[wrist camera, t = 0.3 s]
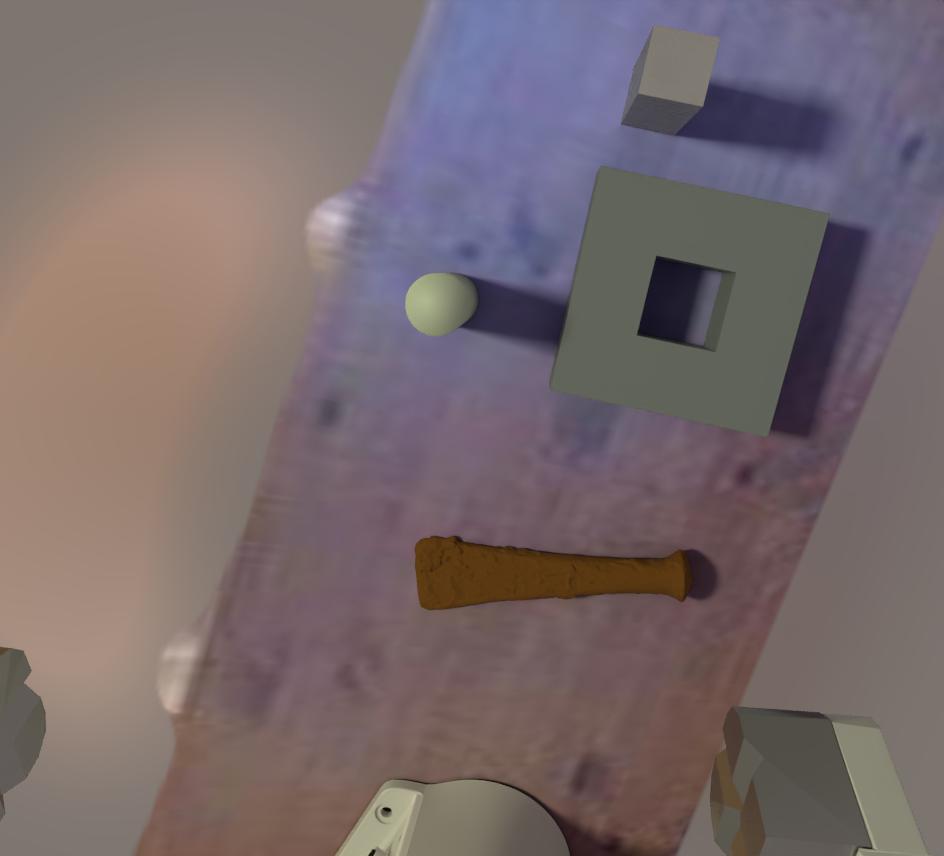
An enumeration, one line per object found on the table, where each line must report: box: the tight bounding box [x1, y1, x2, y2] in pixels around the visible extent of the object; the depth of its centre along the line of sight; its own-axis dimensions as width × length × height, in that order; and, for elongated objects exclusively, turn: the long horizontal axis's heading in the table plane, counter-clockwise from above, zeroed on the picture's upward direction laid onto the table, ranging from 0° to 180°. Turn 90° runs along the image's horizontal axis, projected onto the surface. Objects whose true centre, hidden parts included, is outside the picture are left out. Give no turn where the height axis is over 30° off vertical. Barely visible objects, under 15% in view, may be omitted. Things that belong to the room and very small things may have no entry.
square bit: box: [621, 25, 720, 135], centre depth 51 cm, size 4×4×10 cm
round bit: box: [405, 273, 479, 336], centre depth 54 cm, size 4×4×10 cm
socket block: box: [549, 166, 830, 437], centre depth 56 cm, size 14×14×4 cm
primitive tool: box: [415, 536, 693, 610], centre depth 61 cm, size 19×6×4 cm, turn 95°
